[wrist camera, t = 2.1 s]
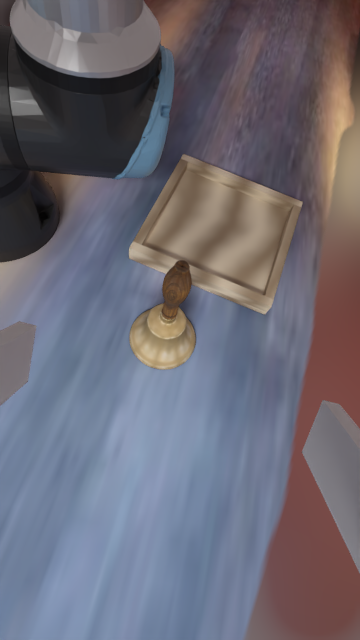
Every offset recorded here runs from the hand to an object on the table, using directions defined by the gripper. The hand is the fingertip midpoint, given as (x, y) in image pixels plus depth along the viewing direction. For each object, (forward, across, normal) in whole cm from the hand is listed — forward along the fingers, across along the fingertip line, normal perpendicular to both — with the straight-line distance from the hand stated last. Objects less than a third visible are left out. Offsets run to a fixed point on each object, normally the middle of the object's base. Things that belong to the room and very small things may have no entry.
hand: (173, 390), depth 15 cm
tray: (+39, +2, +7) cm, 40 cm away
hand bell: (+27, -2, -7) cm, 28 cm away
